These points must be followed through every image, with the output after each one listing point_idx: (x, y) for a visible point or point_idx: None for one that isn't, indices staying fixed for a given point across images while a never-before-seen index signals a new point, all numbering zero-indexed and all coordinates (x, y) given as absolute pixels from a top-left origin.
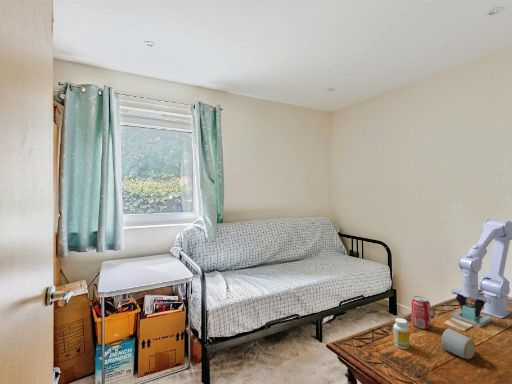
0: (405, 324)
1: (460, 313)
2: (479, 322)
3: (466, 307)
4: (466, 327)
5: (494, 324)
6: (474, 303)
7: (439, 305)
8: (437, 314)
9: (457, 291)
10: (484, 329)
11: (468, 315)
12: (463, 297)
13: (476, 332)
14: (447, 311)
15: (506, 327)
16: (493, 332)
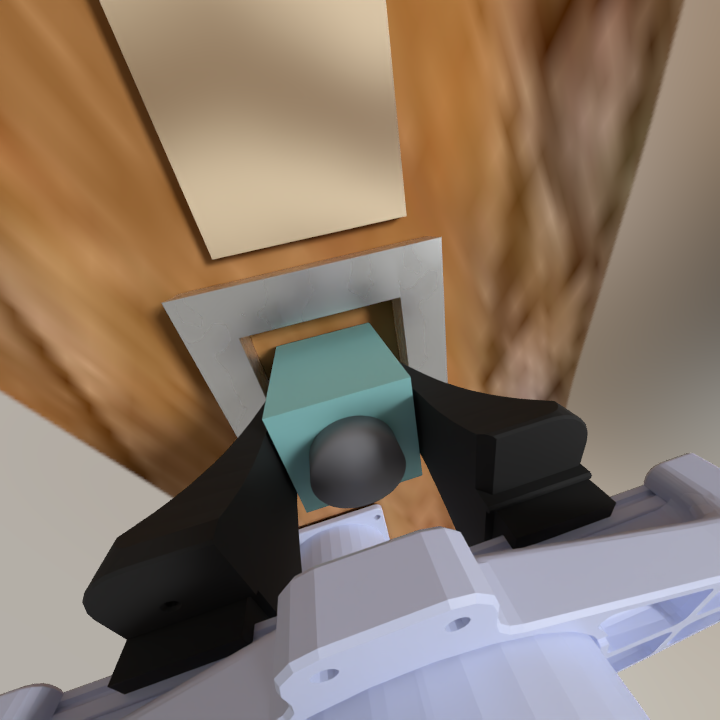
0: None
1: (406, 348)
2: (197, 335)
3: (358, 388)
4: (158, 95)
5: (214, 450)
6: (226, 505)
7: (570, 363)
8: (525, 171)
9: (715, 588)
10: (132, 299)
11: (326, 350)
12: (483, 513)
13: (49, 121)
14: (497, 327)
15: (155, 481)
16: (56, 320)
